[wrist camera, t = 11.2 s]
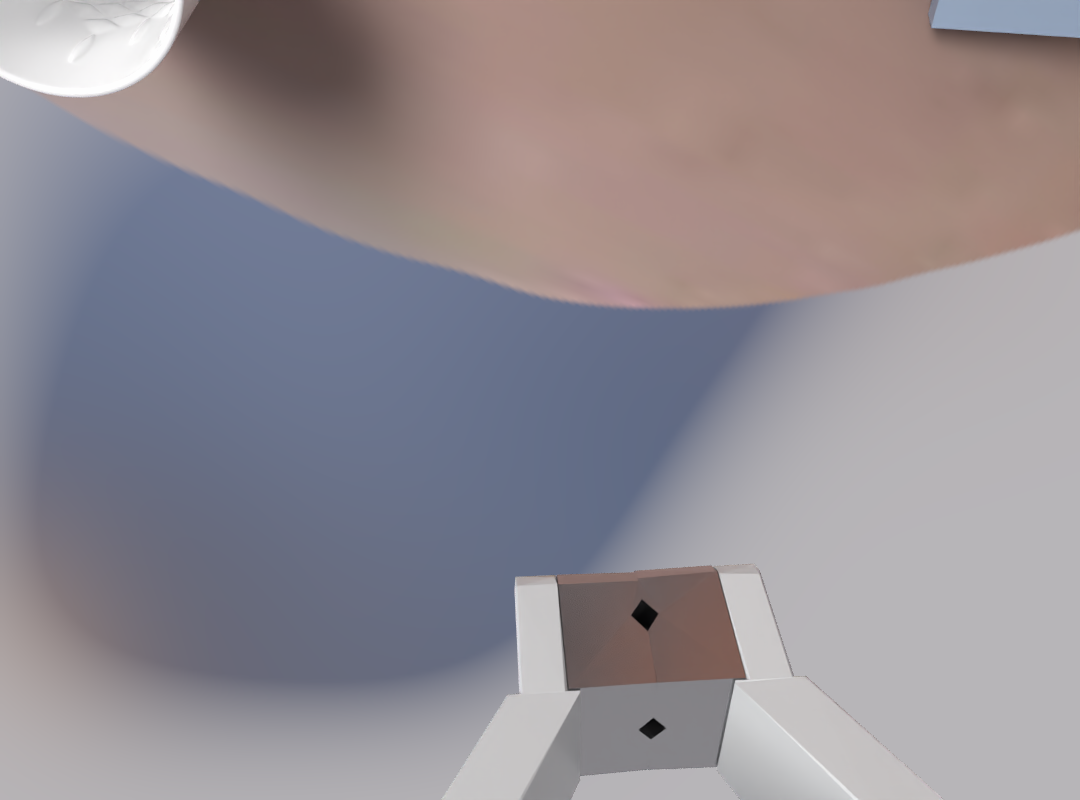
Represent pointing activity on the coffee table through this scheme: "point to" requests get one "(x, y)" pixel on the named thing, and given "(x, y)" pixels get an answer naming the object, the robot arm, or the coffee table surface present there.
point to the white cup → (86, 42)
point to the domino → (1008, 16)
